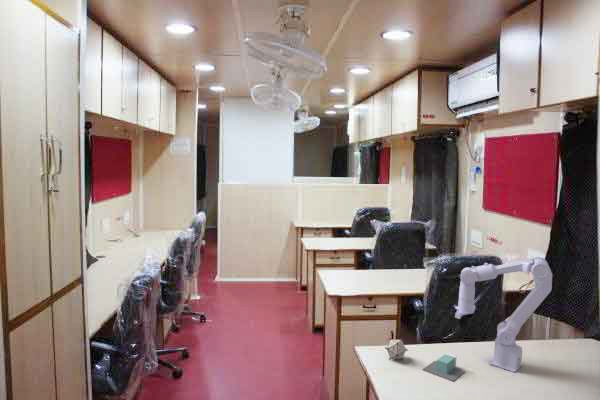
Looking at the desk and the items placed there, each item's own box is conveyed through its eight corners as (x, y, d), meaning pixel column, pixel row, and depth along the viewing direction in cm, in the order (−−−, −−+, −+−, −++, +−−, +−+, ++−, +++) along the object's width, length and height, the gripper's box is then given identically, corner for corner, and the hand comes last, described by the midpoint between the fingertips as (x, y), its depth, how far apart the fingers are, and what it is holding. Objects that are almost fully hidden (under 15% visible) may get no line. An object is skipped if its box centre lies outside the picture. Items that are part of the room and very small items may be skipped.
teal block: (456, 356, 172) (447, 363, 166) (455, 366, 172) (446, 373, 167) (446, 353, 175) (436, 359, 169) (445, 363, 175) (436, 370, 169)
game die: (397, 365, 181) (411, 344, 182) (400, 368, 172) (414, 345, 174) (378, 352, 182) (392, 330, 184) (380, 353, 174) (394, 331, 176)
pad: (464, 372, 169) (465, 371, 169) (453, 381, 162) (453, 380, 162) (434, 361, 177) (434, 360, 177) (422, 370, 170) (422, 369, 170)
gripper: (464, 292, 187) (461, 323, 189) (448, 299, 177) (446, 333, 178) (481, 296, 182) (478, 328, 184) (466, 304, 172) (463, 339, 173)
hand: (463, 331), depth 181 cm, fingers closed
